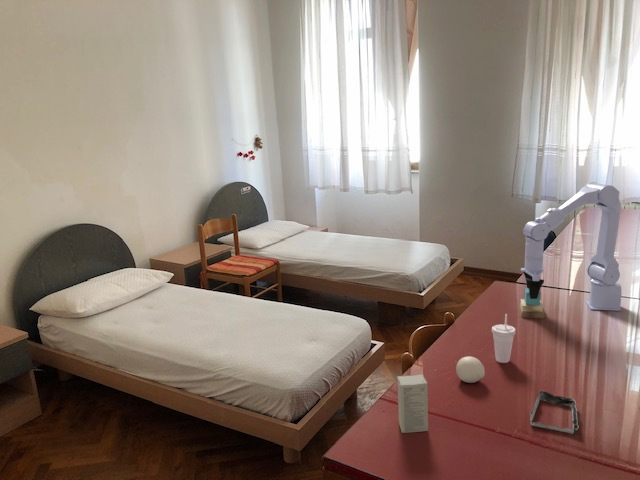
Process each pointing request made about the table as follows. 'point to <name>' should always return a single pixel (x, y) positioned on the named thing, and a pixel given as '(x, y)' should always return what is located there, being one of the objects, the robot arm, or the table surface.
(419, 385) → the skincare box
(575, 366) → the table surface
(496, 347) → the smoothie
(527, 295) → the teal block
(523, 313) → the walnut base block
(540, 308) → the maple top block
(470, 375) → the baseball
